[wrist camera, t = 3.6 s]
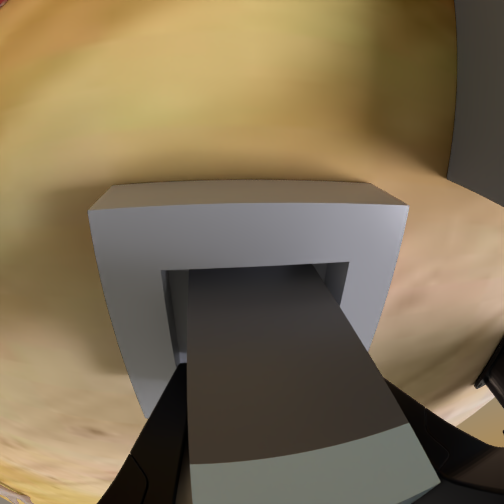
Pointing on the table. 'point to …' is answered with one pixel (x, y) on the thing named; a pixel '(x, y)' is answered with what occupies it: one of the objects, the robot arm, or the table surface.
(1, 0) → the torus
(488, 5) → the grey dispenser box
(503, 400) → the robot arm
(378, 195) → the cradle
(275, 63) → the table surface
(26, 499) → the anime figure
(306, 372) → the plug
